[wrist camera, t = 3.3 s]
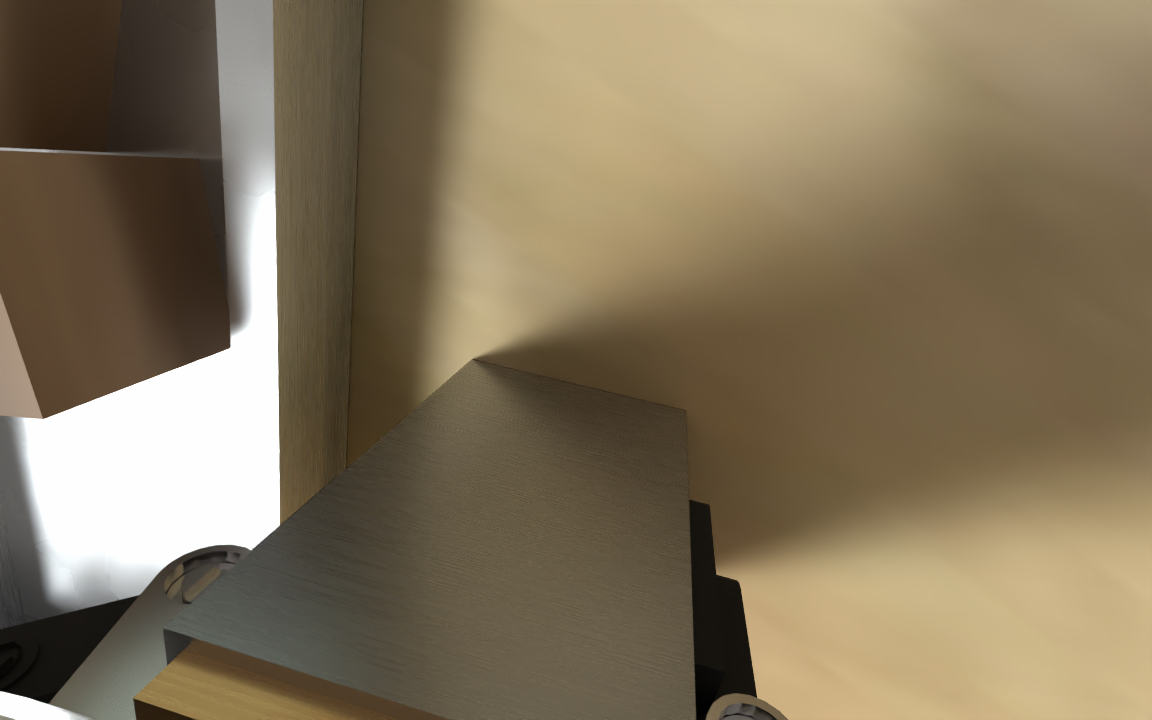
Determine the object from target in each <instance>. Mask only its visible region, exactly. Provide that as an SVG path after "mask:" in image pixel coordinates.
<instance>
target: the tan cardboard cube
mask: <svg viewBox="0 0 1152 720" xmlns="http://www.w3.org/2000/svg"><path fill="white" fill-rule="evenodd" d="M228 349H231V339H230V317H229V307H228V302H227V297H226V292H225V287H224V282H223V277H222V272H221V267H220V262H219V257H218V252H217V248H216V243H215V238H214V233H213V228H212V223H211V218H210V213H209V208H208V203H207V198H206V193H205V188H204V184H203V179H202V174H201V169H200V164H199V159H194V158H170V157H146V156H122V155H98V154H74V153H50V152H26V151H2V150H0V415H2V416H12V417H22V418H32V419H42V420H43V419H46V418H49V417H51V416H54V415H57V414H59V413H62V412H65V411H67V410H70V409H72V408H75V407H78V406H80V405H83V404H86V403H88V402H91V401H94V400H96V399H99V398H102V397H104V396H107V395H109V394H112V393H115V392H117V391H120V390H123V389H125V388H128V387H131V386H133V385H136V384H138V383H141V382H144V381H146V380H149V379H152V378H154V377H157V376H160V375H162V374H165V373H167V372H170V371H173V370H175V369H178V368H181V367H183V366H186V365H189V364H191V363H194V362H196V361H199V360H202V359H204V358H207V357H210V356H212V355H215V354H218V353H220V352H223V351H225V350H228Z"/></svg>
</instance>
